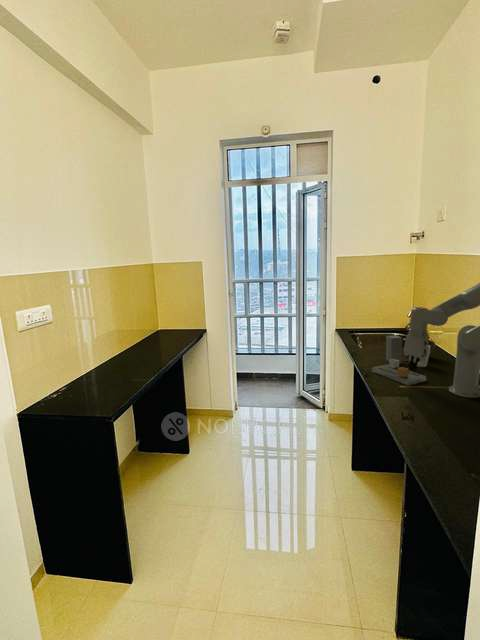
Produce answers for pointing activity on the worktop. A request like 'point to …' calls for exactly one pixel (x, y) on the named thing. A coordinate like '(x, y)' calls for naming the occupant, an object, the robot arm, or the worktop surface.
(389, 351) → the skincare box
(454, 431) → the worktop surface
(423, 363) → the cup
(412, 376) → the console
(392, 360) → the fader white
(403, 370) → the fader orange
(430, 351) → the ceramic jug
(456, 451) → the worktop surface
